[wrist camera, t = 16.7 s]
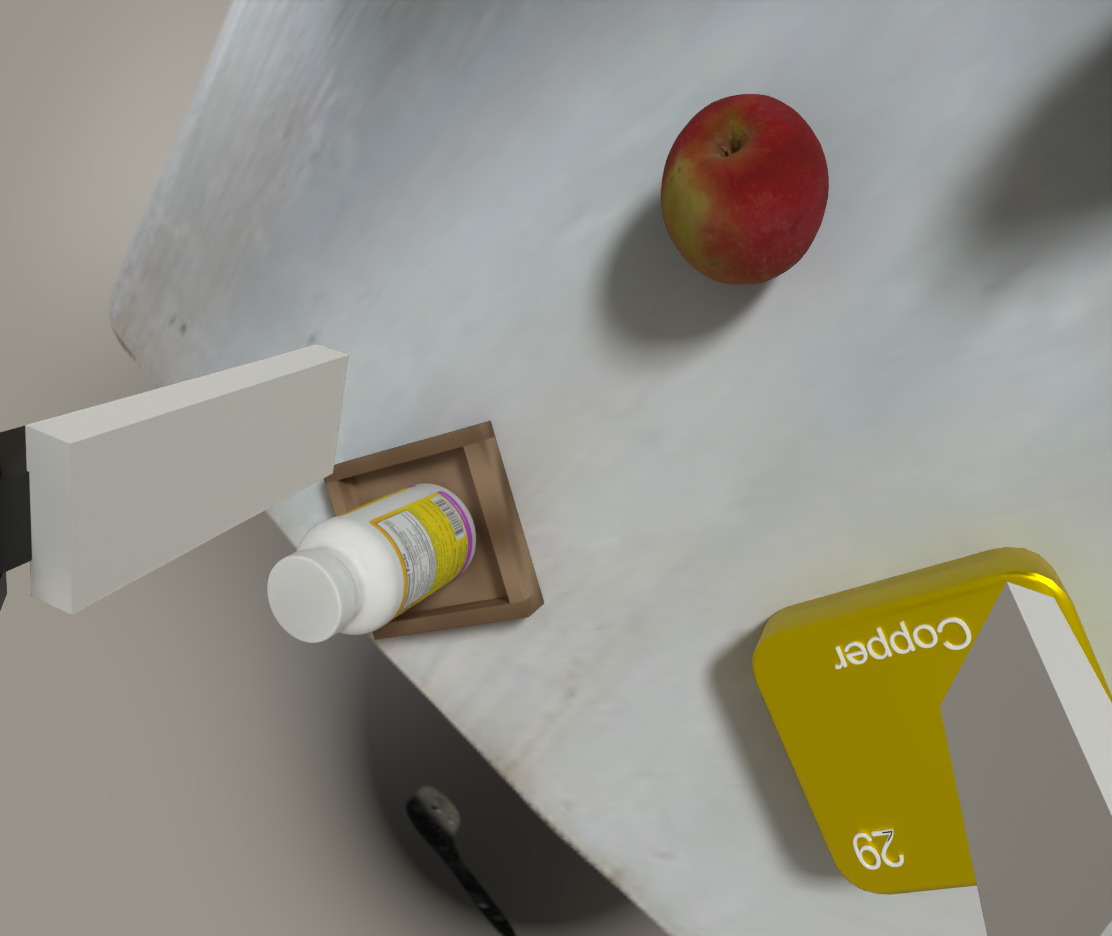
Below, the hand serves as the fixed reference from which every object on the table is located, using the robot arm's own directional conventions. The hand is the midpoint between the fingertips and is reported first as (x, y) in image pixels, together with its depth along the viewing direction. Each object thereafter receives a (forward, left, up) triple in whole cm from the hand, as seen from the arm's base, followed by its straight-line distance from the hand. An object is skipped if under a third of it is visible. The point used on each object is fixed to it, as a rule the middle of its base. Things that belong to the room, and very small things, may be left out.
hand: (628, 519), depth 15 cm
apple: (-9, 0, -29) cm, 30 cm away
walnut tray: (+4, -24, -29) cm, 38 cm away
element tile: (+19, +3, -29) cm, 35 cm away
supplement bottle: (+4, -24, -28) cm, 37 cm away
